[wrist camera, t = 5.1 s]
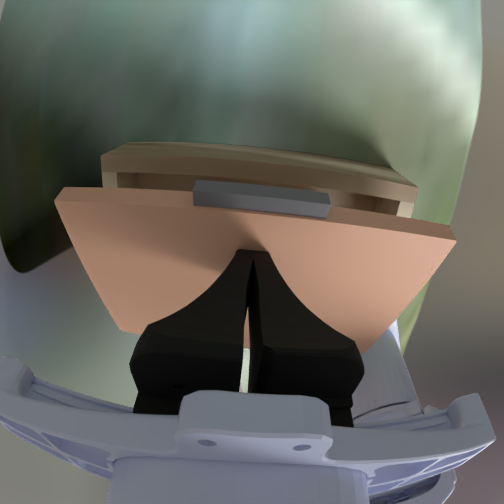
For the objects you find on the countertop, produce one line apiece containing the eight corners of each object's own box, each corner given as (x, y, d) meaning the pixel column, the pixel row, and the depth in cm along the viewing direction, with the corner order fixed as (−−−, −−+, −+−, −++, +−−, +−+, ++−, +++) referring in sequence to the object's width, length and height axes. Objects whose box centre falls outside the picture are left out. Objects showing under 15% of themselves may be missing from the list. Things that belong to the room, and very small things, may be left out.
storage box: (351, 305, 24) (362, 339, 21) (141, 285, 24) (124, 317, 20) (392, 168, 18) (418, 187, 15) (128, 141, 18) (100, 155, 14)
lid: (360, 343, 21) (362, 355, 20) (125, 321, 21) (122, 333, 20) (455, 214, 11) (464, 229, 10) (60, 174, 11) (48, 188, 10)
